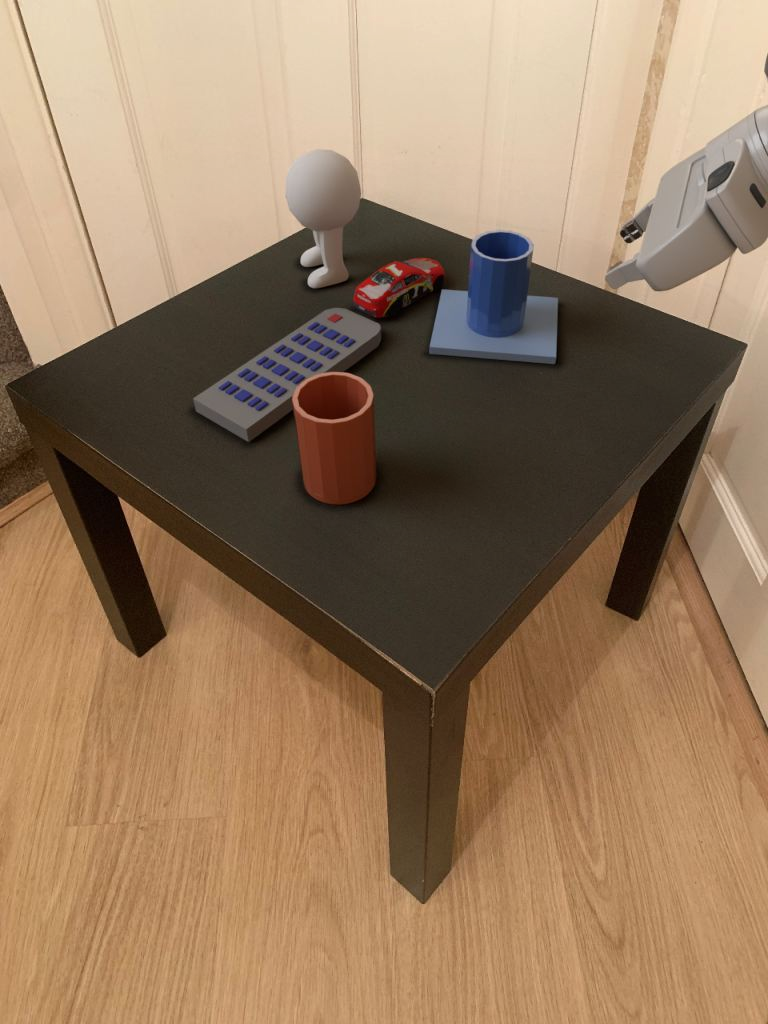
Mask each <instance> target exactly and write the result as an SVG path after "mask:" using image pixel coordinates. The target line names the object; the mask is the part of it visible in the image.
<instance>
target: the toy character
mask: <svg viewBox="0 0 768 1024" xmlns="http://www.w3.org/2000/svg"><path fill="white" fill-rule="evenodd" d="M359 178H360V177H359V173H358V171H357V170H356V168H355V166H354V165H353V164H352V163H351V161H350V160H349V159H348V158H347V157H346V156H345V155H342V154H340V153H339V152H337V151H334V150H333V149H321V148H316V149H314V150H310V151H308V152H304V153H302V154H301V155H300V156H298V157H297V158H296V159H295V160H294V161H292V163H291V165H290V167H289V170H288V171H287V173H286V179H285V199H286V204H287V206H288V209H289V211H290V213H291V214H292V215H293V216H294V218H296V221H298V223H299V224H300V225H301V226H302V227H304V228H306V229H309V230H311V231H312V234H313V239H314V242H315V243H314V244H315V246H313V247H311V248H309V249H306V250H305V251H304V252H303V253H302V255H301V257H300V264H301V266H302V267H305V268H312V267H316V266H317V267H318V266H320V265H321V267H319V268H317V269H315V270H313V271H312V272H311V273H310V274H309V276H308V278H307V285H308V287H310V288H312V289H321V288H325V287H329V286H333V285H336V284H341V283H343V282H346V281H347V280H348V279H349V276H350V274H349V271H348V269H347V267H346V265H345V262H344V256H343V255H344V253H343V240H344V239H343V238H344V237H343V235H344V227H345V226H346V225H347V224H349V223H350V222H352V220H353V219H354V218H355V216H356V214H357V213H358V210H359V208H360V205H361V197H362V189H361V183H360V179H359ZM322 265H323V266H322Z"/></svg>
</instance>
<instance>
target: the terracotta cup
mask: <svg viewBox="0 0 768 1024" xmlns="http://www.w3.org/2000/svg"><path fill="white" fill-rule="evenodd" d="M292 403H293V410H292V411H293V418H294V424H295V433H296V440H297V448H298V456H299V463H300V471H301V476H302V482H303V486H304V489H305V491H306V492H307V494H309V496H311V497H312V498H313V499H314V500H317V501H319V502H321V503H324V504H328V505H339V506H340V505H347V504H352V503H354V502H358V501H360V500H362V499H363V498H365V497H366V496H367V495H369V493H371V492H372V490H373V489H374V487H375V485H376V482H377V472H378V471H377V445H376V444H377V443H376V441H377V440H376V418H375V417H376V415H375V394H374V391H373V388H372V386H371V384H370V383H368V382H367V381H366V380H365V379H364V378H363V377H361V376H358V375H355V374H353V373H350V372H345V371H344V372H328V373H321V374H317V375H315V376H312V377H310V378H308V379H306V380H304V381H303V382H302V383H301V384H300V385H299V386H298V387H297V388H296V389H295V392H294V394H293V397H292Z"/></svg>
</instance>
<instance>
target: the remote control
mask: <svg viewBox="0 0 768 1024" xmlns="http://www.w3.org/2000/svg"><path fill="white" fill-rule="evenodd" d="M381 327H382V326H381V324H380V323H379V322H376V321H375V320H372V319H370V318H367V317H365V316H362V315H360V314H358V313H356V312H354V311H352V310H349V309H347V308H342V307H332V308H329V309H325V310H323V311H321V312H320V313H318V314H317V315H315V317H312V318H311V319H310V320H309V321H306V323H304V324H303V325H301V326H300V327H298V328H296V329H295V330H293V331H292V332H290V333H289V334H287V335H286V336H284V337H283V338H281V339H280V340H279V341H276V342H275V343H274V344H273V345H271V346H269V347H268V348H267V349H265V350H264V351H262V352H260V353H259V354H258V355H256V356H254V357H253V358H252V359H250V360H248V361H247V362H245V363H244V364H242V365H241V366H239V367H238V368H236V369H235V370H234V371H232V372H230V373H229V374H228V375H226V376H225V377H223V378H222V379H220V380H219V381H217V382H215V383H214V384H213V385H211V386H210V387H208V388H206V389H205V390H204V391H202V392H201V393H199V394H198V395H196V396H195V397H193V398H192V400H193V404H194V409H195V412H197V413H198V414H199V415H202V416H203V417H205V418H206V419H208V420H210V421H211V422H214V424H217V425H218V426H220V427H221V428H224V429H225V430H227V431H229V432H230V433H232V434H234V435H236V436H237V437H239V438H241V439H242V440H244V441H245V442H247V443H250V442H251V441H253V440H254V439H255V438H257V437H258V436H259V435H260V434H262V433H263V432H265V431H266V430H267V429H268V428H270V427H272V426H273V425H274V424H276V423H277V422H279V420H281V419H282V418H284V417H285V416H286V415H288V414H289V413H290V412H291V411H293V403H292V397H293V394H294V392H295V389H296V388H297V387H298V386H299V385H300V384H301V383H302V382H303V381H304V380H306V379H308V378H310V377H312V376H315V375H317V374H321V373H328V372H344V373H345V372H346V371H347V370H348V369H350V368H351V367H353V365H355V364H357V362H359V361H360V360H362V359H363V358H365V357H366V356H367V355H368V354H370V353H371V352H372V351H373V350H376V348H378V347H379V345H380V343H381V342H382V341H381V340H382V328H381Z"/></svg>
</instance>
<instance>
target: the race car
mask: <svg viewBox="0 0 768 1024" xmlns="http://www.w3.org/2000/svg"><path fill="white" fill-rule="evenodd" d="M445 281H446V273H445V270H444V268H443V266H442V265H441V263H440V262H439V261H437V260H435V259H432V258H428V257H414V258H411V259H408V260H404V261H397V260H393V262H391V263H387V264H386V265H384V266H383V267H380V268H379V269H378V270H377V271H375V272H373V273H372V274H371V275H370V276H368V277H367V278H366V279H365V280H364V281H362V282H361V283H360V284H359V285H358V286H356V288H355V290H354V294H353V297H352V298H353V308H354V309H356V310H359V311H360V312H362V313H364V314H366V315H368V316H369V317H373V318H376V319H377V318H386V317H389V316H391V317H394V316H397V314H398V313H399V311H400V309H401V310H402V309H404V308H406V307H407V306H410V305H411V304H412V303H414V302H416V301H417V300H419V299H421V298H423V297H425V296H426V295H428V294H429V293H431V292H433V291H439V290H440V289H442V286H443V285H444V283H445Z"/></svg>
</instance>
